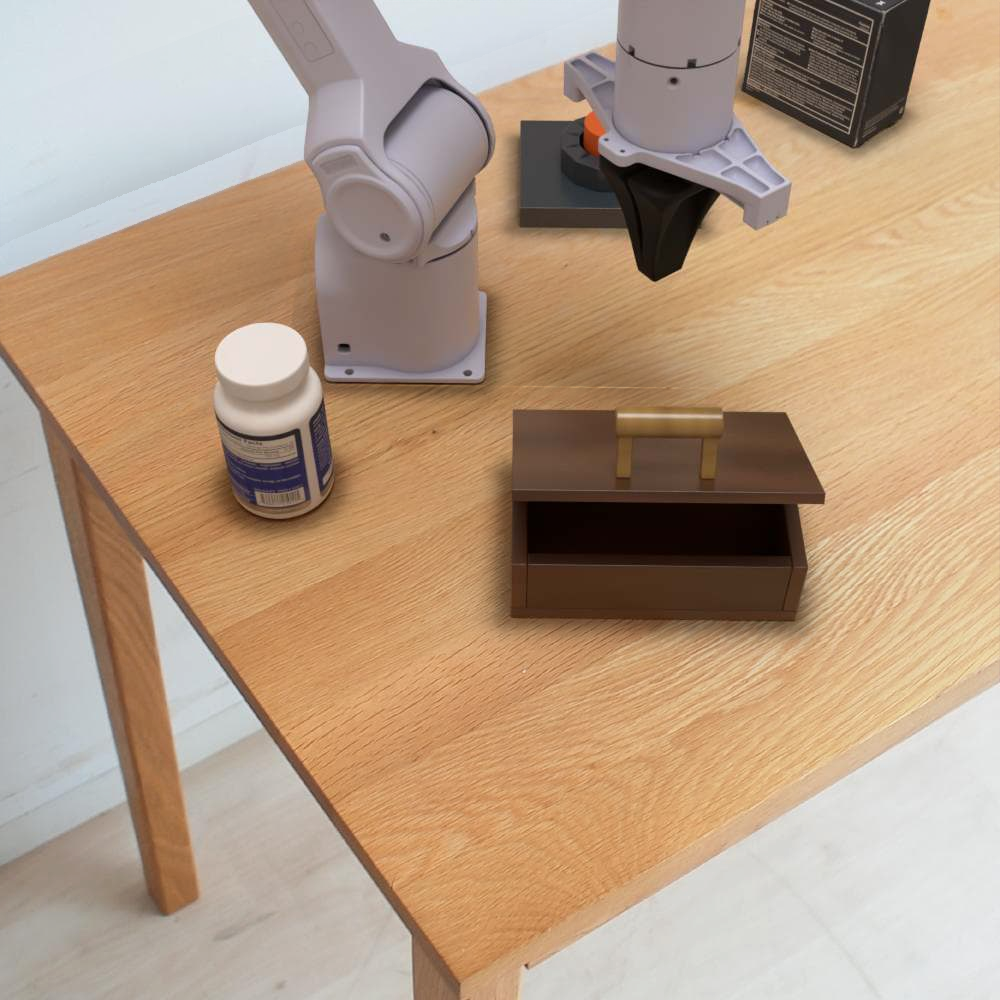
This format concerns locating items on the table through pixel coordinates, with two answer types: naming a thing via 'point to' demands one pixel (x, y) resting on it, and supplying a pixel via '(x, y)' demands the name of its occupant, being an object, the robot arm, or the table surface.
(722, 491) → the lid
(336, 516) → the table surface
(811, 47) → the small box
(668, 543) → the compartment
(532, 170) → the control block
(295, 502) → the pill bottle
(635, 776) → the table surface
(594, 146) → the button
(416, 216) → the robot arm
